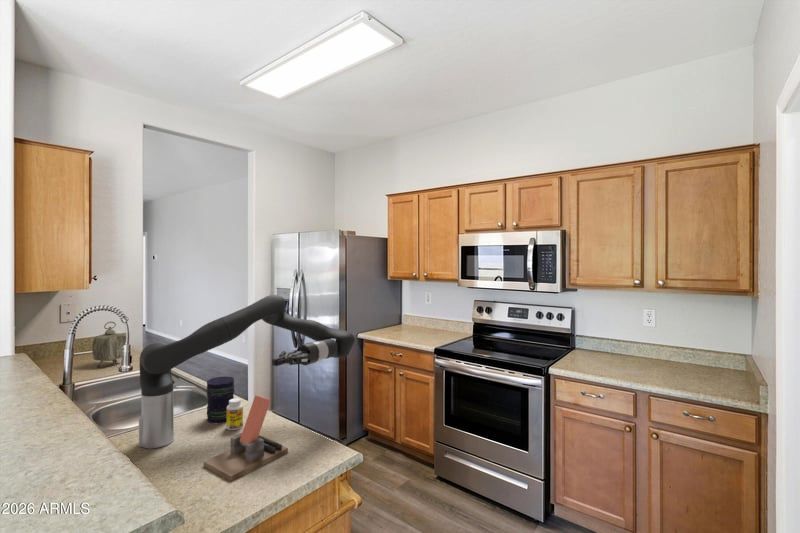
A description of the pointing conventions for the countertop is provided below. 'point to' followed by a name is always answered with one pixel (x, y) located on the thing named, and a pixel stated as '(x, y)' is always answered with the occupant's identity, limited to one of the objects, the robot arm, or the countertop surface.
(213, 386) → the storage jar
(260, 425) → the lever
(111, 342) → the tabletop clock
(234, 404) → the supplement bottle
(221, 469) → the switch board
